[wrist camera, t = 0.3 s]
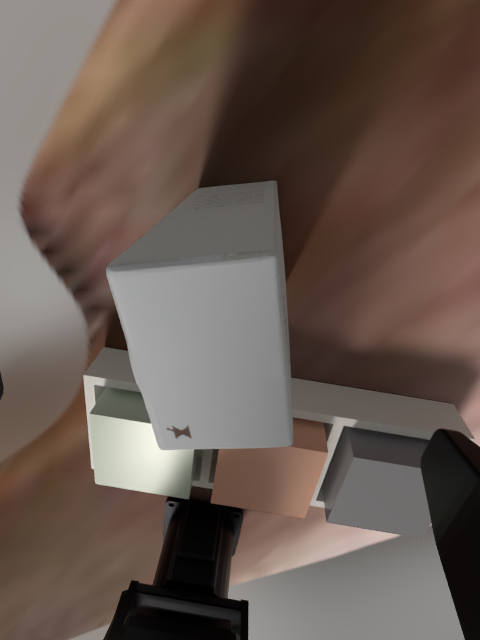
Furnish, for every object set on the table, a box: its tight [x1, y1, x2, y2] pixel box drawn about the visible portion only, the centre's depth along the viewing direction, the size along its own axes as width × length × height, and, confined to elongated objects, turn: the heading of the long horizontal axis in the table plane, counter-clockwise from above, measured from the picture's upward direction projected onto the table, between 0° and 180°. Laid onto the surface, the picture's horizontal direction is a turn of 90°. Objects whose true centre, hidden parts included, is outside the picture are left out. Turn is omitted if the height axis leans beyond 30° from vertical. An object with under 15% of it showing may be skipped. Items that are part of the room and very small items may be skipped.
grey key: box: [322, 426, 431, 538], centre depth 23 cm, size 6×6×2 cm
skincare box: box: [106, 181, 293, 450], centre depth 15 cm, size 6×4×12 cm
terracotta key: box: [211, 417, 328, 519], centre depth 23 cm, size 6×6×2 cm
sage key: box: [89, 387, 198, 499], centre depth 23 cm, size 6×6×2 cm
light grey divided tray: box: [83, 347, 475, 508], centre depth 25 cm, size 8×23×3 cm, turn 82°
